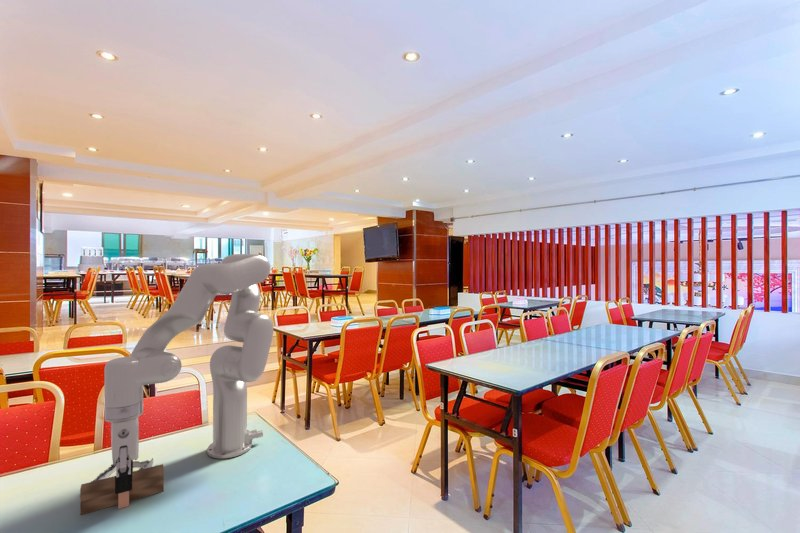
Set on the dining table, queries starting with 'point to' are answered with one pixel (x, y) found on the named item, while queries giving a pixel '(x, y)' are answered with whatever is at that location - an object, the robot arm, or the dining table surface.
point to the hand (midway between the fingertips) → (124, 482)
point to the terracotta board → (123, 498)
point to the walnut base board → (104, 494)
